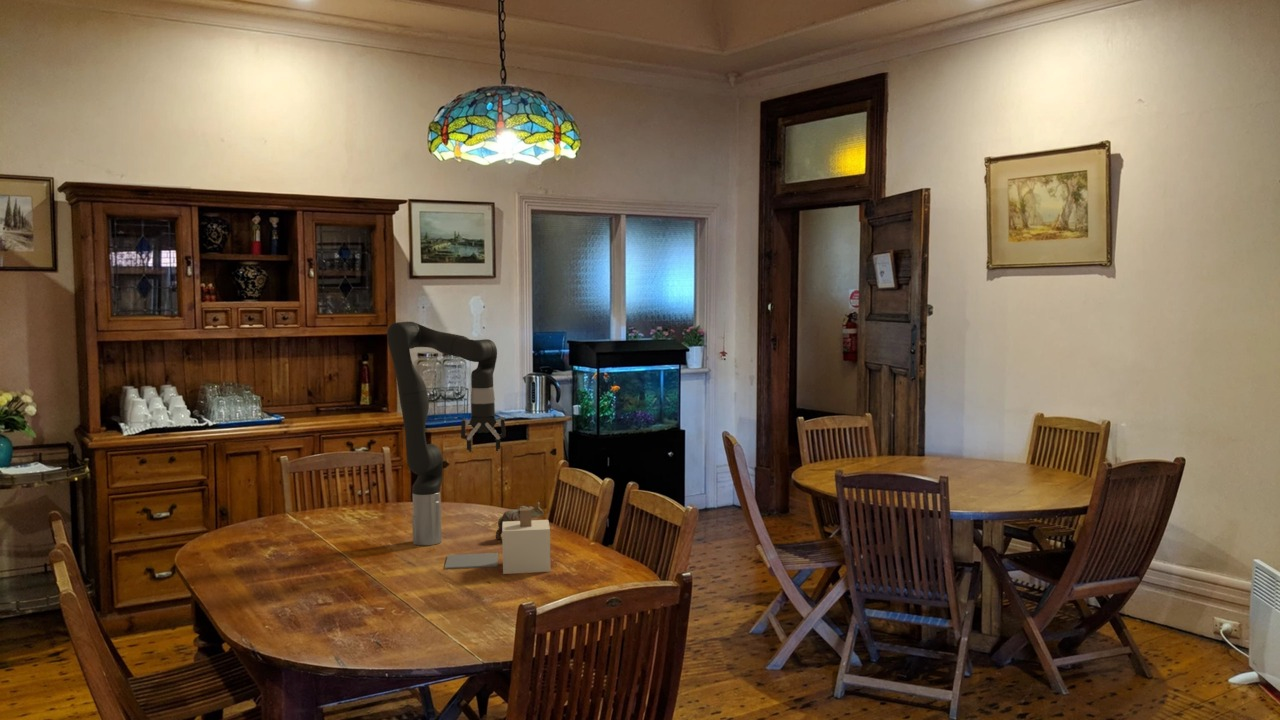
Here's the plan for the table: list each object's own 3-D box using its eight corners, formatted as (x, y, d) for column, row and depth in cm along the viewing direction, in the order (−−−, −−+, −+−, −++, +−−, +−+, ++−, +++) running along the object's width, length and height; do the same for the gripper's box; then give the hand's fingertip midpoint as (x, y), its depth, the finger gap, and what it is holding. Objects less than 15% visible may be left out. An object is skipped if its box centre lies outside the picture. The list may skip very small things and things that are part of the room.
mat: (444, 569, 290) (444, 567, 290) (447, 556, 304) (447, 555, 304) (497, 566, 292) (497, 564, 292) (498, 554, 306) (498, 552, 306)
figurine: (533, 551, 321) (542, 510, 319) (492, 542, 321) (501, 500, 319) (537, 542, 331) (546, 502, 328) (497, 533, 331) (506, 492, 328)
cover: (503, 573, 284) (501, 514, 283) (503, 562, 296) (502, 505, 295) (550, 571, 286) (549, 512, 285) (548, 560, 298) (547, 503, 297)
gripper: (459, 403, 301) (460, 453, 302) (504, 402, 303) (505, 452, 304) (460, 400, 309) (462, 450, 310) (505, 399, 311) (506, 448, 312)
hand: (483, 451), depth 307 cm, fingers open, 8 cm apart
